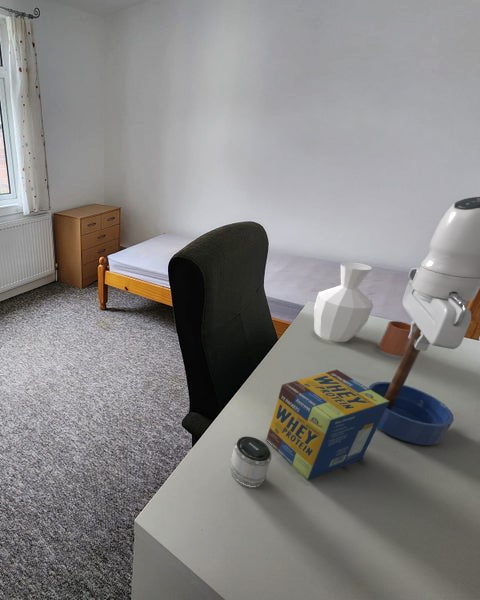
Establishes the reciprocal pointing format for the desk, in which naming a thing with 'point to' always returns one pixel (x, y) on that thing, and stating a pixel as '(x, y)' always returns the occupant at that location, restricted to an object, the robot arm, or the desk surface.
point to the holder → (396, 338)
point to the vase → (343, 305)
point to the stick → (402, 370)
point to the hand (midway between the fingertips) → (416, 344)
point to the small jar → (250, 461)
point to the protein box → (324, 422)
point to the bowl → (414, 416)
